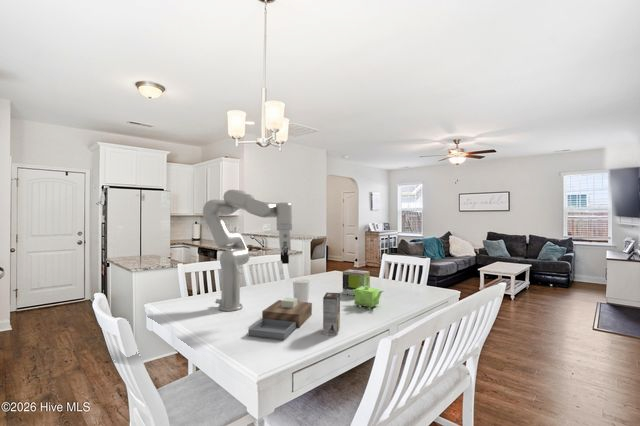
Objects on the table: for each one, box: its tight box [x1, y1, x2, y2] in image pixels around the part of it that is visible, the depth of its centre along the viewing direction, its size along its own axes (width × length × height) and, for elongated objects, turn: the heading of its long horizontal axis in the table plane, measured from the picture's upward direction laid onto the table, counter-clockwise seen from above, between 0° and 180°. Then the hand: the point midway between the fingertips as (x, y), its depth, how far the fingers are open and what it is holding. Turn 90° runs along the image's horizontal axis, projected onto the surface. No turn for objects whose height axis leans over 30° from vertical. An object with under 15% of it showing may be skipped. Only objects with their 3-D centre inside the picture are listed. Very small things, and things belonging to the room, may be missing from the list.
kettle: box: [351, 286, 385, 309], centre depth 183 cm, size 15×14×11 cm
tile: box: [281, 297, 298, 308], centre depth 162 cm, size 6×6×3 cm
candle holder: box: [292, 278, 311, 303], centre depth 192 cm, size 10×10×12 cm
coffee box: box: [322, 292, 341, 336], centre depth 144 cm, size 9×6×16 cm
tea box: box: [342, 269, 371, 296], centre depth 210 cm, size 15×10×15 cm, turn 58°
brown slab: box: [261, 299, 313, 329], centre depth 160 cm, size 18×20×6 cm
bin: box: [247, 318, 297, 341], centre depth 142 cm, size 16×14×3 cm
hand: (284, 262), depth 162 cm, fingers open, 9 cm apart
